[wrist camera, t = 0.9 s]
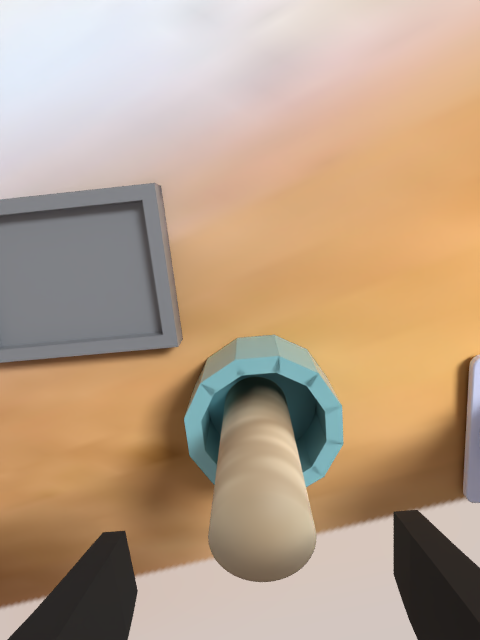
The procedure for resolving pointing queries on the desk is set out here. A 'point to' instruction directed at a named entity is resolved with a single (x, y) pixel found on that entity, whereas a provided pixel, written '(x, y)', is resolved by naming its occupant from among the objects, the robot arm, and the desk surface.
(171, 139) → the desk surface
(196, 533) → the desk surface
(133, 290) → the tray
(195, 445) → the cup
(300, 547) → the pin
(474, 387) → the robot arm
